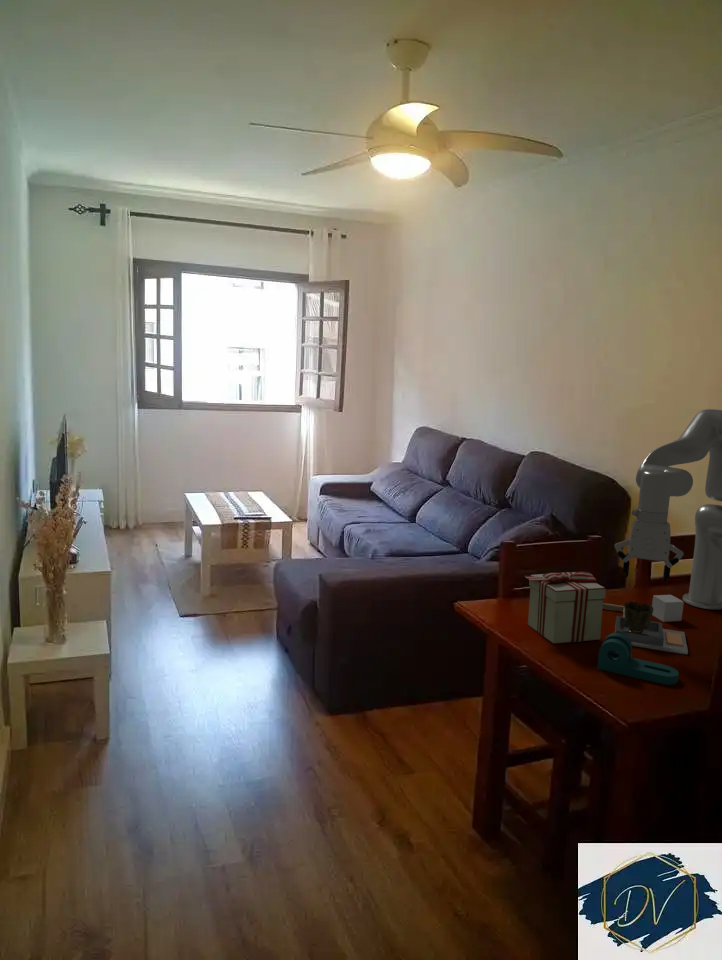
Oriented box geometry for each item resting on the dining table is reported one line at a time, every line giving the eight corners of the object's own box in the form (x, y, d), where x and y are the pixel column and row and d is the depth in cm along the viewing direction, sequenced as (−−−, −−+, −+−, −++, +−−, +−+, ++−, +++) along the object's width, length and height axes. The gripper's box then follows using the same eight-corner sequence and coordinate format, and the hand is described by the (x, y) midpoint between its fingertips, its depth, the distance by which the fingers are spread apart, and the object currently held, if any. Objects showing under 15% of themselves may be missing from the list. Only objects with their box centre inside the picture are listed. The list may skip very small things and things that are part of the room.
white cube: (668, 613, 217) (671, 594, 216) (681, 621, 211) (683, 601, 210) (650, 614, 215) (653, 595, 214) (663, 622, 210) (665, 602, 208)
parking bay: (585, 605, 221) (585, 600, 220) (626, 611, 217) (627, 606, 216) (583, 618, 210) (583, 613, 209) (626, 625, 206) (627, 620, 205)
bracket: (597, 669, 177) (600, 639, 175) (602, 659, 183) (605, 630, 181) (676, 688, 168) (680, 656, 167) (678, 677, 174) (682, 646, 173)
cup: (619, 634, 196) (622, 606, 194) (623, 626, 202) (626, 598, 201) (648, 640, 192) (651, 612, 191) (651, 631, 199) (655, 604, 197)
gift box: (563, 616, 211) (568, 559, 208) (604, 640, 194) (611, 579, 191) (513, 621, 205) (518, 563, 202) (551, 647, 188) (557, 584, 185)
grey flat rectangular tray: (615, 624, 206) (616, 614, 205) (683, 635, 200) (685, 625, 199) (614, 642, 193) (615, 632, 192) (687, 654, 187) (688, 643, 186)
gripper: (617, 516, 190) (611, 577, 194) (688, 523, 185) (681, 586, 188) (618, 510, 197) (612, 569, 201) (686, 517, 192) (679, 578, 195)
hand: (645, 577), depth 194 cm, fingers open, 9 cm apart
